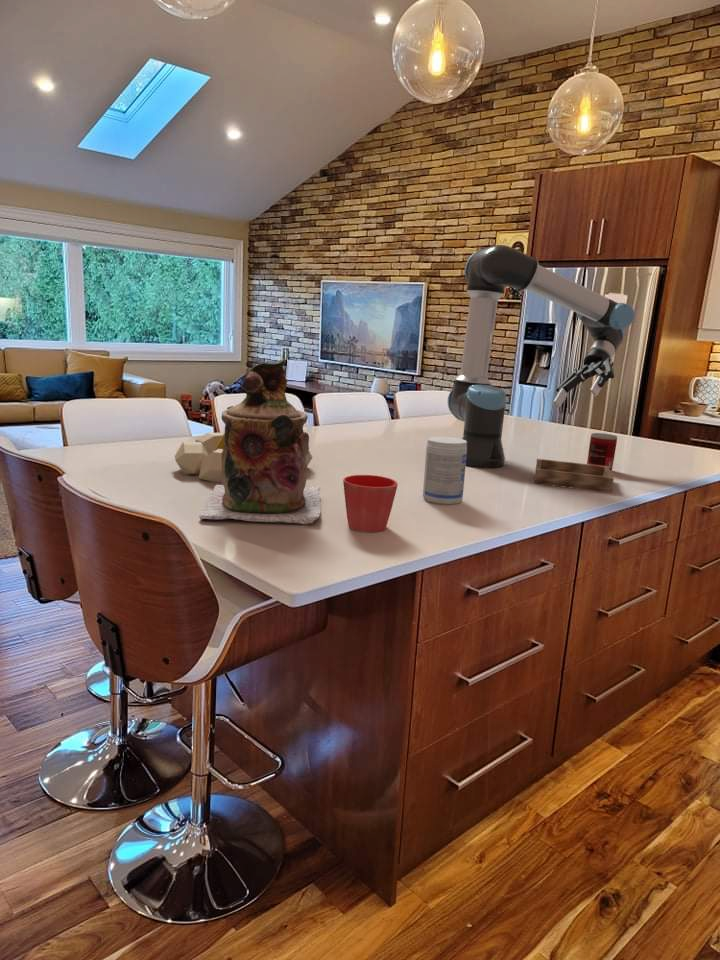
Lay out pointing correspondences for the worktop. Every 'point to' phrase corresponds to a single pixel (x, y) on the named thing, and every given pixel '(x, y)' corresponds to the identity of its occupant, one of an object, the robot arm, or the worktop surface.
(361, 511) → the flower pot
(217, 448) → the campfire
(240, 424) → the cookie jar
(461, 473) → the supplement tub
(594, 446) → the canned food
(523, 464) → the worktop surface
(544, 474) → the crate
